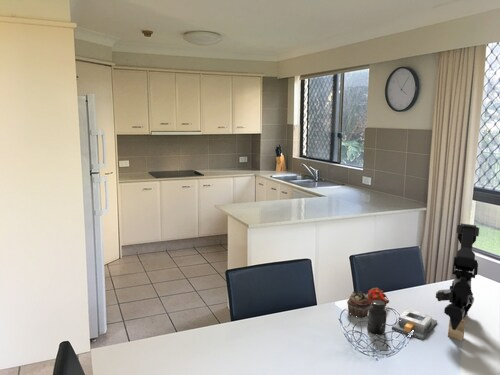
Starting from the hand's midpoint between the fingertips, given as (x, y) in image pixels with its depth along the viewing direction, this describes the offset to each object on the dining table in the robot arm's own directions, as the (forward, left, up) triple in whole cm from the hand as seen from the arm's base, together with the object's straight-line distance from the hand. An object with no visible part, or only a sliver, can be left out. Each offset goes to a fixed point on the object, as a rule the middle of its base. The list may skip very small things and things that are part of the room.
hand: (457, 325), depth 165 cm
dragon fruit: (-5, -34, -5) cm, 35 cm away
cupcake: (+8, -37, -5) cm, 38 cm away
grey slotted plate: (+2, -15, -5) cm, 16 cm away
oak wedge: (0, 0, -5) cm, 5 cm away
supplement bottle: (+17, -25, -5) cm, 31 cm away
